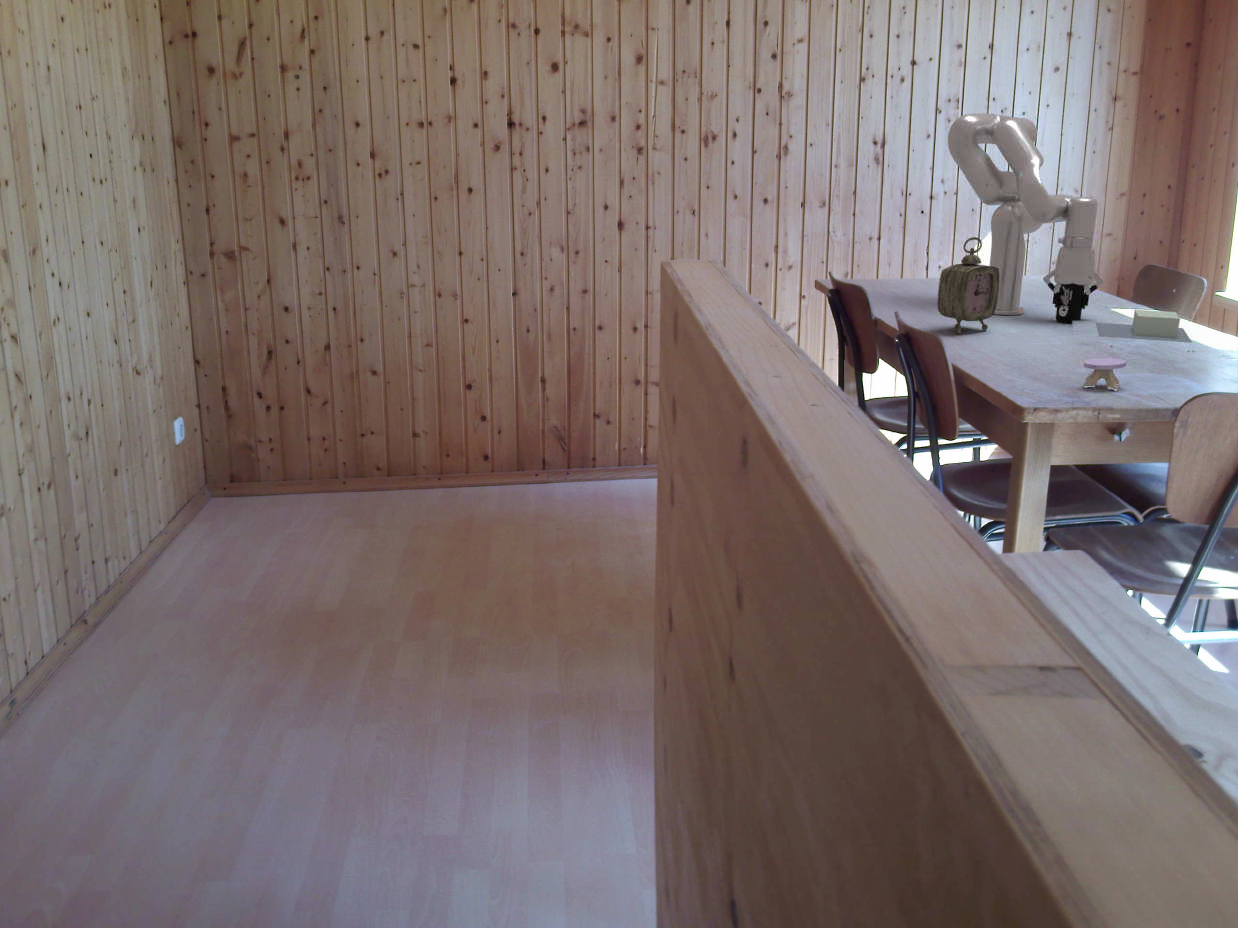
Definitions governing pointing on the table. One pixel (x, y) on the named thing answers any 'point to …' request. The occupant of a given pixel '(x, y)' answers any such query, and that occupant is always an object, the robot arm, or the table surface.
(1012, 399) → the table surface
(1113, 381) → the toy table
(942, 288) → the tabletop clock
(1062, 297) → the beverage can
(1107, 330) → the board
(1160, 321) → the plinth
